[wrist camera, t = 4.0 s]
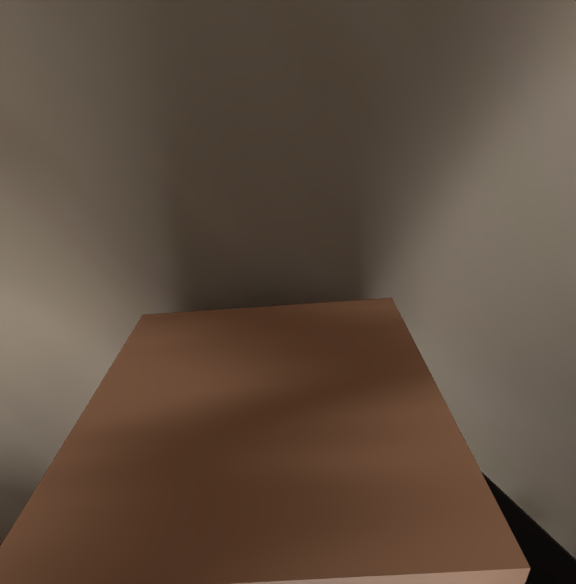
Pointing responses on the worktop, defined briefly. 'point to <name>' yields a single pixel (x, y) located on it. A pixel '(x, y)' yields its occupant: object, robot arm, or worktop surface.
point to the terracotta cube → (265, 462)
